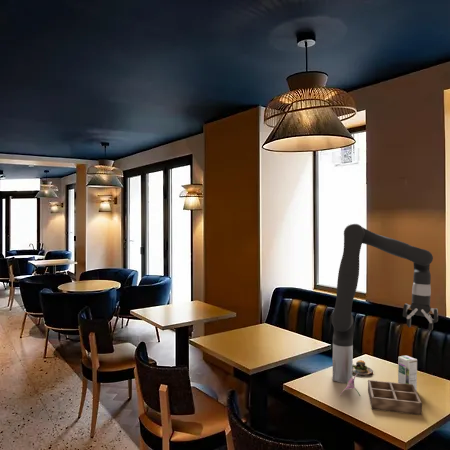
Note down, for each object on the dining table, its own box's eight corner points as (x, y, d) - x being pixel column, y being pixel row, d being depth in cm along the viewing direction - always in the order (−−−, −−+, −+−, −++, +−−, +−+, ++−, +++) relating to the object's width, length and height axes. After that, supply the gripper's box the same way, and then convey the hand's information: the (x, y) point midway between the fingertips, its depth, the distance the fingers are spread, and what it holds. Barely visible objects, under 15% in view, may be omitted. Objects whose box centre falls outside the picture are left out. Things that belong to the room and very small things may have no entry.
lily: (354, 389, 180) (343, 370, 182) (374, 388, 171) (363, 368, 172) (340, 405, 173) (329, 385, 174) (360, 404, 164) (348, 383, 165)
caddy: (371, 409, 159) (371, 397, 159) (368, 390, 177) (368, 379, 177) (421, 415, 154) (421, 403, 154) (412, 395, 172) (412, 384, 172)
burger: (343, 372, 199) (343, 357, 198) (354, 366, 207) (354, 352, 207) (366, 379, 190) (366, 364, 190) (377, 372, 198) (377, 358, 198)
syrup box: (397, 388, 180) (397, 356, 180) (407, 386, 182) (407, 354, 182) (407, 393, 174) (407, 360, 174) (417, 391, 176) (417, 358, 176)
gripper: (402, 292, 180) (400, 327, 180) (437, 297, 171) (435, 334, 171) (406, 290, 185) (405, 324, 186) (440, 294, 177) (438, 330, 177)
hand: (419, 329), depth 179 cm, fingers open, 8 cm apart
